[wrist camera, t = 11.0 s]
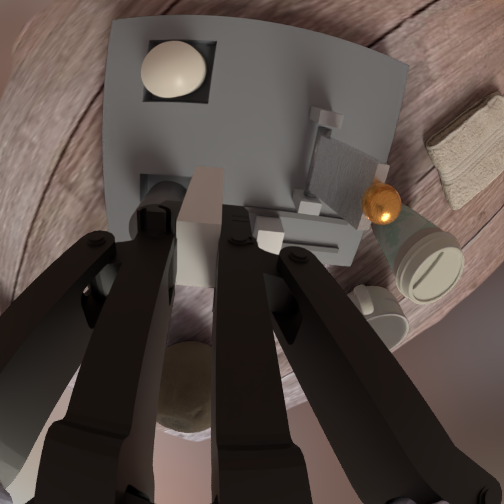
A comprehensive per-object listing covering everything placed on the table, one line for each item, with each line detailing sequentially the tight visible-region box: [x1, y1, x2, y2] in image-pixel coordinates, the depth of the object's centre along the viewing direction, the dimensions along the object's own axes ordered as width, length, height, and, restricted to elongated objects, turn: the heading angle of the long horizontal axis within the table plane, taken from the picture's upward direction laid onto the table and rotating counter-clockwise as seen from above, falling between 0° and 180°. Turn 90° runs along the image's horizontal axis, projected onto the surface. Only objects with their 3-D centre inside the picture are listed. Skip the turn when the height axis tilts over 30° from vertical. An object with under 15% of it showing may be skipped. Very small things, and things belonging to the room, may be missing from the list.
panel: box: [102, 15, 409, 266], centre depth 25 cm, size 28×24×7 cm
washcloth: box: [426, 91, 504, 210], centre depth 27 cm, size 12×18×3 cm, turn 131°
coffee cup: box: [372, 203, 464, 304], centre depth 29 cm, size 8×8×12 cm
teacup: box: [347, 284, 409, 351], centre depth 38 cm, size 14×11×8 cm
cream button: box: [141, 41, 208, 98], centre depth 20 cm, size 5×5×6 cm
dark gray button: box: [129, 181, 187, 240], centre depth 25 cm, size 5×5×6 cm
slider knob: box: [253, 215, 285, 254], centre depth 28 cm, size 2×2×3 cm
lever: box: [303, 126, 402, 230], centre depth 20 cm, size 3×6×10 cm, turn 171°
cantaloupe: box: [156, 341, 212, 433], centre depth 40 cm, size 14×14×15 cm
